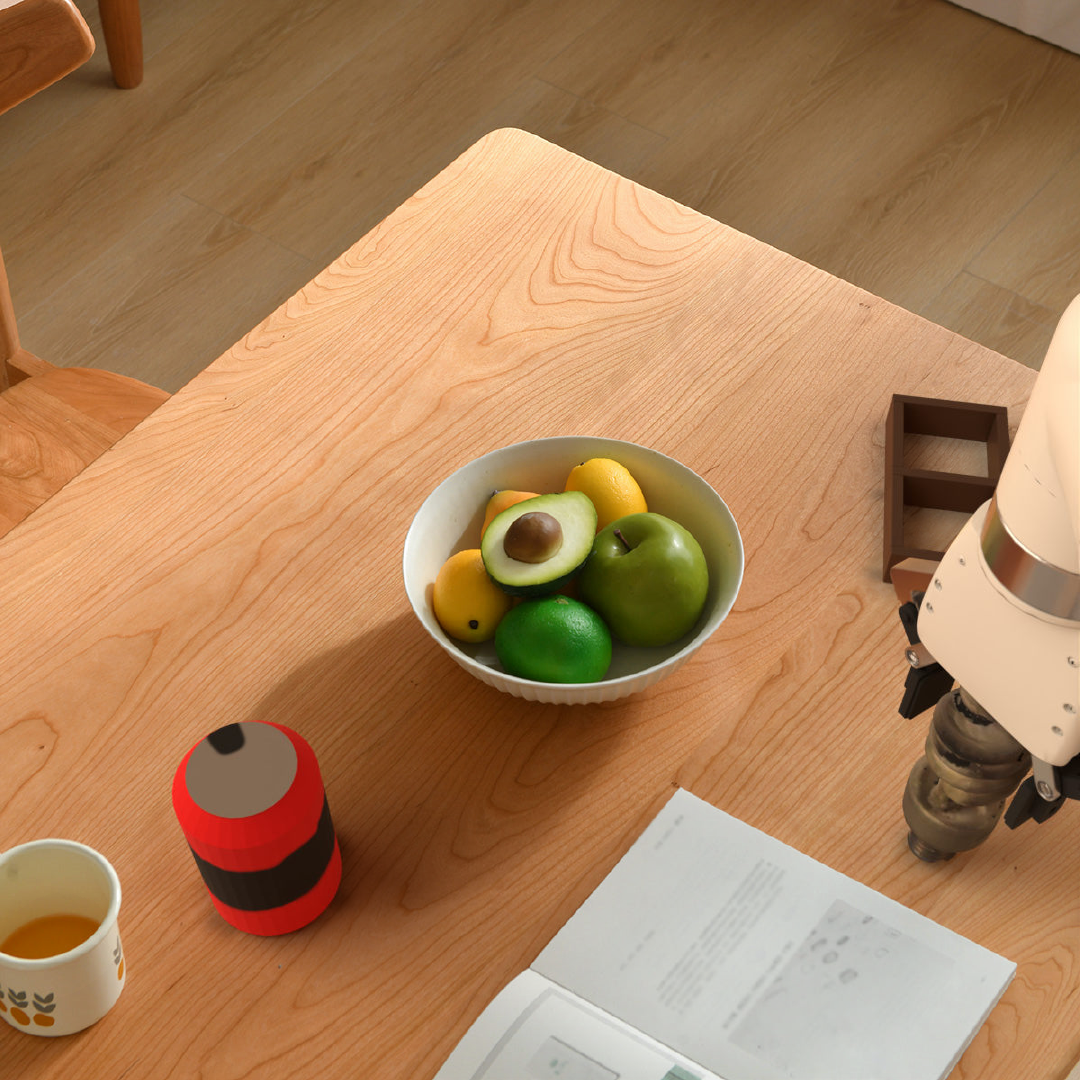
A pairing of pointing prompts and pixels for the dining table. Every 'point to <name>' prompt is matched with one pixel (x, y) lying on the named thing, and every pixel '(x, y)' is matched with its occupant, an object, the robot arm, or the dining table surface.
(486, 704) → the dining table surface
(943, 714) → the light bulb
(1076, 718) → the robot arm
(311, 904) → the soda can
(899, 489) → the socket block
